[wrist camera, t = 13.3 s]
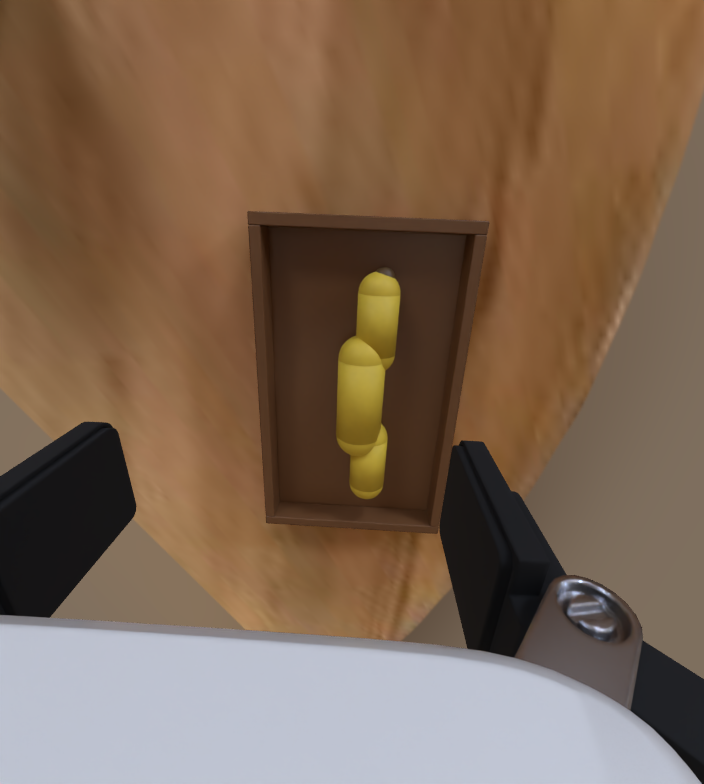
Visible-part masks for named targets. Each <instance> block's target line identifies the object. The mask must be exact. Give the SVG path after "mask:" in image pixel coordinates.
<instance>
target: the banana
mask: <svg viewBox="0 0 704 784" xmlns="http://www.w3.org/2000/svg"><path fill="white" fill-rule="evenodd" d="M400 295H401V294H400V286H399V284H398V282H397V280H396V276H395V273H394V271H393V270H392V269H390V268H388V267H381V268H379V269H377V270H376V271H375V272H373V273H371V274H369V275H367V276H366V277H365V278H364V279H363V280H362V282H361V284H360V286H359V291H358V306H357V328H356V336H354V337H351V338H350V339H348V340H347V341H346V342H345V343H344V344H343V345H342V347H341V349H340V352H339V357H338V385H337V420H336V438H337V442H338V444H339V446H340V447H341V449H342V450H343V451H344V452H346V453H347V454H349V455H350V477H349V484H350V488H351V490H352V492H353V493H354V494H355V495H356V496H357V497H359V498H362V499H367V500H371V499H374V498H375V497H376V496H377V495H378V494H379V493H380V492H381V490H382V488H383V484H384V473H385V462H386V451H387V440H388V437H387V431H386V429H385V427H384V426H383V425H382V424H381V419H382V406H383V394H384V381H385V370H387V369H388V368H389V367H390V366H391V365H392V363H393V361H394V358H395V351H396V339H397V328H398V317H399V306H400Z"/></svg>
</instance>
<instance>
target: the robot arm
mask: <svg viewBox="0 0 704 784" xmlns="http://www.w3.org/2000/svg"><path fill="white" fill-rule="evenodd" d="M135 512H136V502H135V498H134V494H133V490H132V486H131V482H130V478H129V474H128V470H127V466H126V462H125V458H124V454H123V450H122V446H121V442H120V438H119V434H118V432H117V430H116V429H114V428H113V427H112V426H111V425H110V424H109V423H103V422H83V423H81V424H80V425H78V426H77V427H75V428H74V429H72V430H70V431H69V432H67V433H66V434H64V435H63V436H61V437H60V438H58V439H57V440H55V441H54V442H52V443H51V444H49V445H48V446H46V447H44V448H43V449H42V450H40V451H38V452H37V453H35V454H34V455H32V456H31V457H29V458H28V459H26V460H25V461H23V462H22V463H20V464H18V465H17V466H16V467H14V468H12V469H11V470H9V471H8V472H6V473H5V474H3V475H2V476H0V784H704V679H703V678H701V677H699V676H697V675H696V674H695V673H693V672H692V671H690V670H688V669H687V668H685V667H684V666H682V665H680V664H679V663H677V662H676V661H674V660H672V659H671V658H669V657H668V656H666V655H665V654H663V653H662V652H660V651H658V650H657V649H655V648H654V647H652V646H650V645H649V644H647V643H646V642H644V641H643V634H642V627H641V624H640V622H639V620H638V618H637V616H636V614H635V613H634V612H633V611H632V609H631V608H630V607H629V605H628V604H627V603H626V602H625V601H624V600H622V599H621V598H620V597H619V596H618V595H617V594H616V593H614V592H613V591H611V590H610V589H608V588H607V587H605V586H603V585H602V584H600V583H598V582H595V581H593V580H591V579H588V578H585V577H580V576H576V575H566V573H565V571H564V570H563V568H562V566H561V565H560V563H559V561H558V559H557V558H556V556H555V554H554V553H553V551H552V549H551V548H550V546H549V544H548V542H547V541H546V539H545V537H544V536H543V534H542V532H541V531H540V529H539V527H538V525H537V524H536V522H535V520H534V519H533V517H532V515H531V514H530V512H529V510H528V508H527V507H526V505H525V503H524V501H523V500H522V498H521V497H520V495H519V494H518V493H516V492H513V491H511V490H510V489H509V487H508V485H507V483H506V481H505V480H504V478H503V476H502V474H501V472H500V471H499V469H498V467H497V465H496V464H495V462H494V460H493V458H492V456H491V455H490V453H489V451H488V449H487V447H486V446H485V444H484V443H483V442H479V441H461V442H460V444H459V446H455V445H454V446H453V448H452V452H451V458H450V464H449V470H448V476H447V482H446V488H445V494H444V500H443V506H442V512H441V518H440V536H441V540H442V544H443V549H444V553H445V557H446V561H447V565H448V569H449V574H450V578H451V582H452V586H453V590H454V594H455V598H456V603H457V606H458V611H459V615H460V619H461V623H462V628H463V632H464V635H465V640H466V644H467V648H468V649H466V648H458V647H451V646H444V645H434V644H422V643H411V642H400V641H388V640H377V639H365V638H352V637H338V636H324V635H309V634H295V633H281V632H267V631H252V630H238V629H223V628H206V627H192V626H191V627H190V626H176V625H161V624H145V623H128V622H113V621H96V620H80V619H63V618H50V617H51V615H52V614H53V613H54V612H55V611H56V609H57V608H58V607H59V606H60V604H61V603H62V602H63V601H64V600H65V599H66V597H67V596H68V595H69V594H70V593H71V591H72V590H73V589H74V588H75V586H76V585H77V584H78V583H79V582H80V581H81V579H82V578H83V577H84V576H85V575H86V573H87V572H88V571H89V570H90V569H91V567H92V566H93V565H94V564H95V563H96V561H97V560H98V559H99V558H100V557H101V555H102V554H103V553H104V552H105V550H106V549H107V548H108V547H109V546H110V544H111V543H112V542H113V541H114V540H115V538H116V537H117V536H118V535H119V534H120V533H121V531H122V530H123V529H124V528H125V527H126V525H127V524H128V523H129V522H130V521H131V519H132V518H133V517H134V515H135Z"/></svg>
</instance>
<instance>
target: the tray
mask: <svg viewBox="0 0 704 784" xmlns="http://www.w3.org/2000/svg"><path fill="white" fill-rule="evenodd" d="M247 213H248V224H249V226H248V228H249V245H250V261H251V278H252V294H253V311H254V327H255V344H256V360H257V377H258V393H259V410H260V426H261V443H262V459H263V476H264V492H265V509H266V523H274V524H290V525H306V526H322V527H338V528H354V529H370V530H386V531H402V532H418V533H434V534H437V533H438V528H439V527H438V526H439V522H440V516H441V510H442V504H443V498H444V492H445V486H446V480H447V474H448V468H449V462H450V456H451V450H452V444H453V438H454V432H455V426H456V420H457V414H458V408H459V402H460V396H461V390H462V384H463V378H464V371H465V365H466V359H467V353H468V347H469V341H470V335H471V329H472V323H473V317H474V311H475V305H476V299H477V293H478V287H479V281H480V275H481V269H482V263H483V257H484V251H485V245H486V239H487V233H488V227H489V221H470V220H447V219H423V218H399V217H375V216H352V215H328V214H304V213H280V212H257V211H248V212H247ZM381 267H388V268H390V269H392V270H393V271H394V273H395V276H396V280H397V282H398V284H399V286H400V294H401V295H400V306H399V317H398V328H397V339H396V351H395V358H394V361H393V363H392V365H391V366H390V367H389V368H388V369H387V370H385V381H384V394H383V406H382V419H381V424H382V425H383V426H384V427H385V429H386V431H387V437H388V440H387V451H386V462H385V473H384V484H383V488H382V490H381V492H380V493H379V494H378V495H377V496H376V497H375V498H374V499H371V500H367V499H362V498H359V497H357V496H356V495H355V494H354V493H353V492H352V490H351V488H350V484H349V477H350V455H349V454H347V453H346V452H344V451H343V450H342V449H341V447H340V446H339V444H338V442H337V438H336V420H337V385H338V357H339V352H340V349H341V347H342V345H343V344H344V343H345V342H346V341H347V340H348V339H350V338H351V337H354V336H356V328H357V306H358V291H359V286H360V284H361V282H362V280H363V279H364V278H365V277H366V276H367V275H369V274H371V273H373V272H375V271H376V270H377V269H379V268H381Z"/></svg>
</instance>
